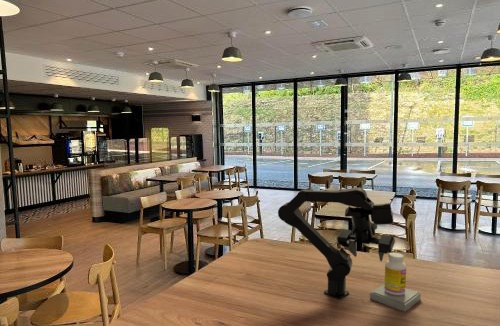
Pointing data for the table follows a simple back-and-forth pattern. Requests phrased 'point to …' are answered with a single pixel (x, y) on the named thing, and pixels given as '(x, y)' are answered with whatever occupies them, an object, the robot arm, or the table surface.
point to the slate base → (396, 298)
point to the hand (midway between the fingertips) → (368, 258)
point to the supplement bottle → (395, 274)
